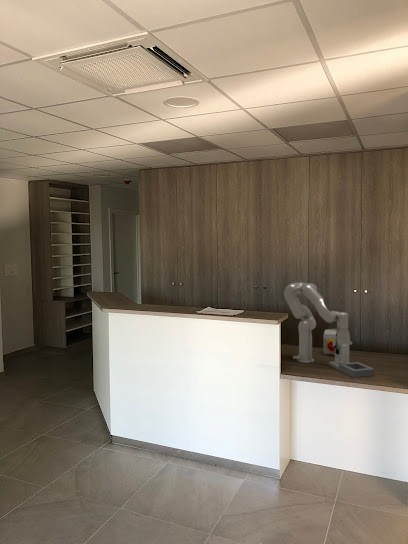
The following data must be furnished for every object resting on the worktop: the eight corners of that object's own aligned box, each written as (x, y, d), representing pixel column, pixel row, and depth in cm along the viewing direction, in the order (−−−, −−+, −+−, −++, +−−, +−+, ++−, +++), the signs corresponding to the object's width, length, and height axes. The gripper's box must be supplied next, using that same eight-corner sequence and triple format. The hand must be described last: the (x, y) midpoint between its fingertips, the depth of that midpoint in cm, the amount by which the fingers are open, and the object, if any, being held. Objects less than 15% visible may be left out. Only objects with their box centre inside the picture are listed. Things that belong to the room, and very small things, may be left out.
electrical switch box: (322, 358, 358) (322, 334, 354) (325, 351, 371) (325, 328, 367) (341, 360, 352) (341, 335, 348) (343, 352, 366) (343, 329, 362)
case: (353, 377, 301) (353, 371, 301) (326, 364, 333) (326, 358, 333) (374, 375, 305) (374, 368, 305) (345, 362, 338) (345, 356, 338)
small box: (349, 362, 326) (349, 344, 325) (343, 363, 323) (343, 345, 322) (340, 359, 333) (341, 342, 332) (334, 360, 330) (334, 343, 329)
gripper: (334, 331, 320) (334, 356, 321) (356, 329, 325) (355, 354, 326) (329, 329, 327) (328, 353, 329) (350, 327, 332) (349, 351, 333)
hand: (342, 353), depth 327 cm, fingers closed on small box, 7 cm apart
